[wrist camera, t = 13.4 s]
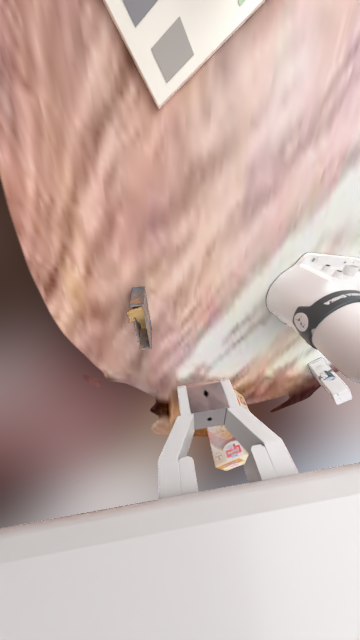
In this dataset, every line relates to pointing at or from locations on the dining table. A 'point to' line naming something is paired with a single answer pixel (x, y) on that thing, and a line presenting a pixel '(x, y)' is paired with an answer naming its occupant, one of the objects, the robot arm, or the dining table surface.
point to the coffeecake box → (227, 444)
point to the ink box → (330, 381)
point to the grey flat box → (141, 317)
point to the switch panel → (175, 36)
